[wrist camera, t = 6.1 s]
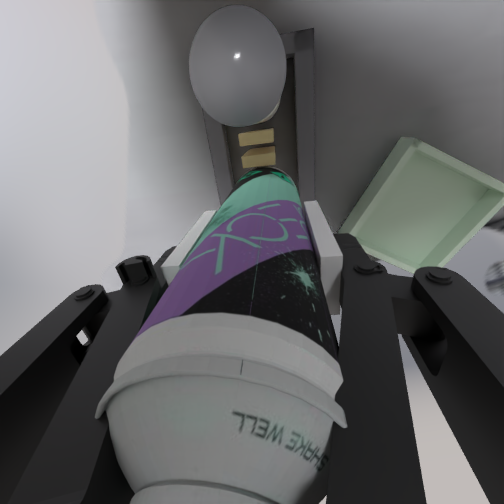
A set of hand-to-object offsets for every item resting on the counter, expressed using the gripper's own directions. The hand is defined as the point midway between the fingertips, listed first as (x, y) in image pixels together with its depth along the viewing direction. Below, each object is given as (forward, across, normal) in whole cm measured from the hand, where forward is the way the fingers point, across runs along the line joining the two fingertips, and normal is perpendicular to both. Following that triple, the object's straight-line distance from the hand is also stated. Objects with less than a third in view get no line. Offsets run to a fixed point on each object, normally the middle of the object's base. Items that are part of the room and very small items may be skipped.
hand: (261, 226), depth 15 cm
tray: (+11, +14, -4) cm, 18 cm away
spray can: (+6, 0, 0) cm, 6 cm away
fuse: (+11, 0, +8) cm, 13 cm away
